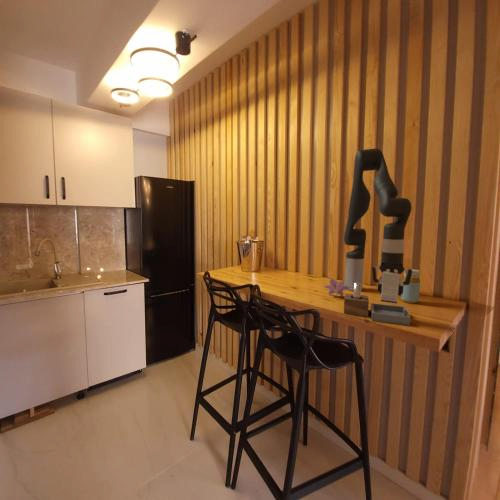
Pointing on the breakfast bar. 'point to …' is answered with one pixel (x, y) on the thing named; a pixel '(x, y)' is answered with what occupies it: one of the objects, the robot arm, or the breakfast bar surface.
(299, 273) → the breakfast bar surface
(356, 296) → the pin gauge
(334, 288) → the lily
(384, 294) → the supplement box
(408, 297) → the bottle
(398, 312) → the tray
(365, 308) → the bore block
